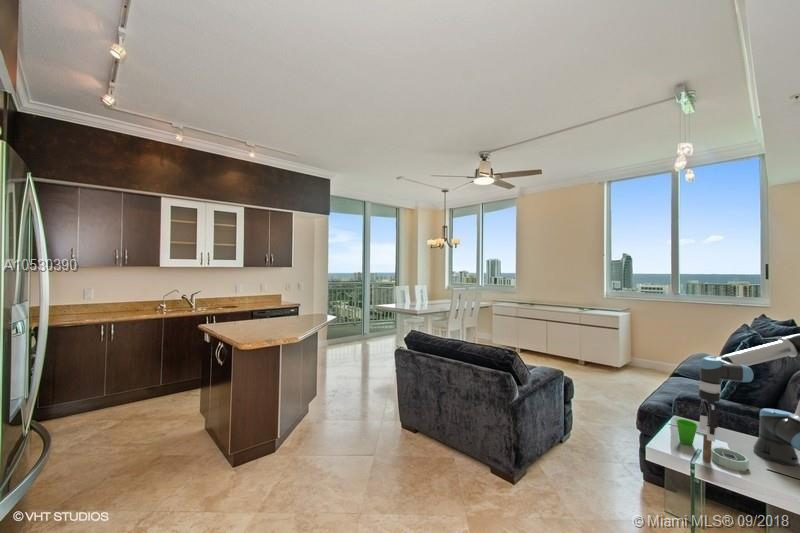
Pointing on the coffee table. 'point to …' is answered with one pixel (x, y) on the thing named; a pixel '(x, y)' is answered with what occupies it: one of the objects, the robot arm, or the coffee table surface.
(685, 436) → the cup
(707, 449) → the block
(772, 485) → the coffee table surface
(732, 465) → the pale green round dish
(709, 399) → the robot arm
